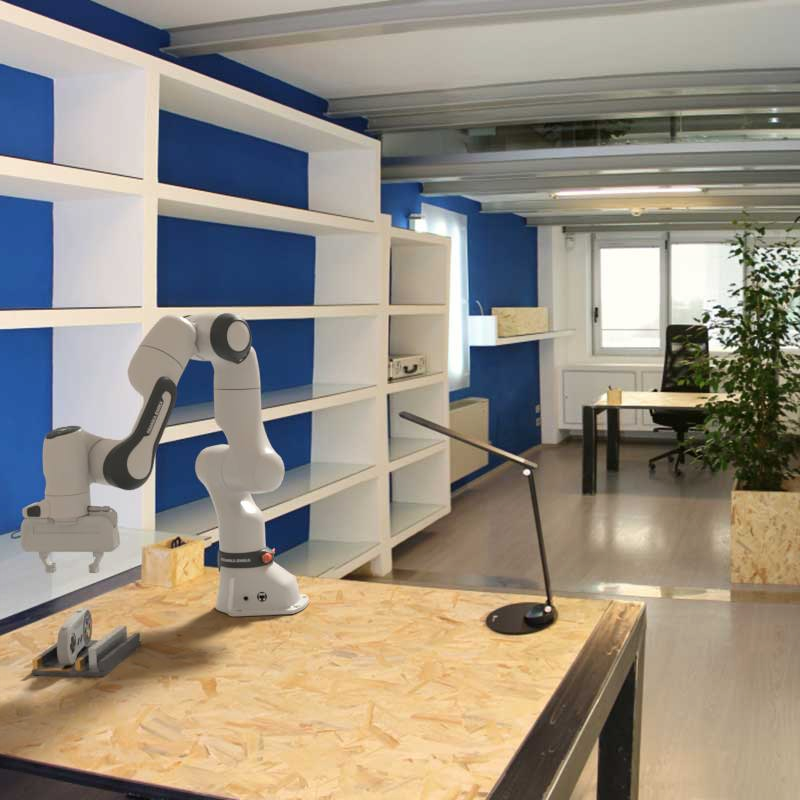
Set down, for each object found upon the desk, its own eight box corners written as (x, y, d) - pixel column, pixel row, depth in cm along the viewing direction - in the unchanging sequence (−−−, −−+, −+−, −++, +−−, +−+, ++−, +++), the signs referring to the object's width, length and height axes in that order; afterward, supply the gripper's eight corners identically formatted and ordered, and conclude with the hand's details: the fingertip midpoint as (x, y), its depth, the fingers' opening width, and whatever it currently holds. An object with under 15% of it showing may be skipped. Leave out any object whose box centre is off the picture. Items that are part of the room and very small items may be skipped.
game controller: (69, 670, 202) (67, 629, 201) (57, 671, 202) (55, 629, 201) (94, 640, 221) (92, 602, 221) (83, 640, 221) (81, 603, 221)
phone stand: (141, 645, 220) (139, 622, 220) (103, 677, 201) (102, 652, 201) (75, 644, 222) (73, 621, 222) (32, 675, 203) (30, 650, 203)
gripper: (122, 502, 211) (126, 568, 212) (29, 503, 214) (34, 568, 215) (110, 509, 205) (114, 576, 206) (14, 509, 208) (19, 576, 209)
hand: (72, 572), depth 210 cm, fingers open, 8 cm apart
